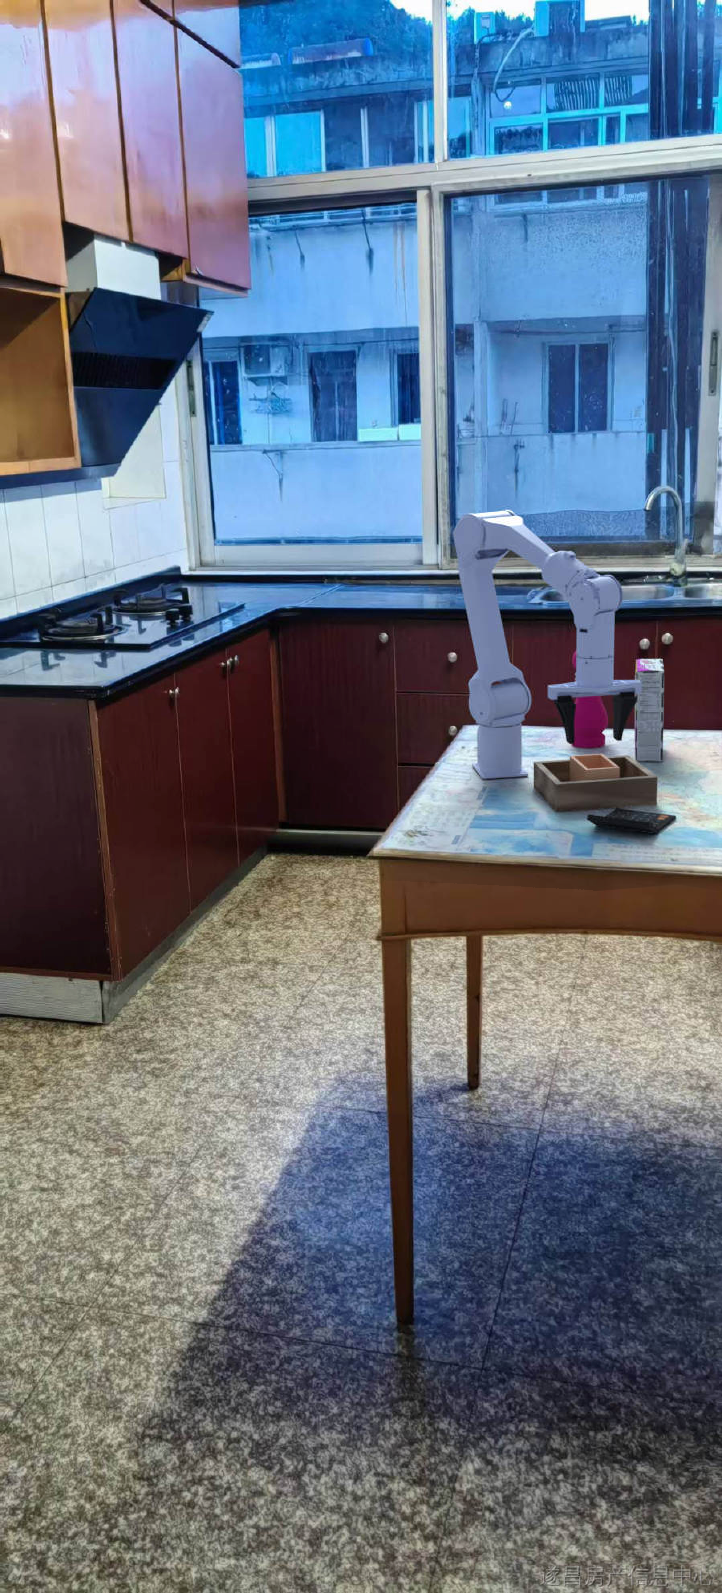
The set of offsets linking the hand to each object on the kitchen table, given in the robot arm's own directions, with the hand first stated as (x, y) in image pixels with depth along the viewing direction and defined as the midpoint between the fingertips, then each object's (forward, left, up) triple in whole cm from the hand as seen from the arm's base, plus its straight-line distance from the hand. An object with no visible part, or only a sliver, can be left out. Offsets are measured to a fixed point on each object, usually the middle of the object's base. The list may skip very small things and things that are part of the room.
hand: (593, 740), depth 199 cm
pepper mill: (-33, +9, -9) cm, 35 cm away
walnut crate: (0, 0, -9) cm, 9 cm away
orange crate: (0, 0, -8) cm, 8 cm away
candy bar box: (-23, +17, -9) cm, 30 cm away
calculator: (+16, +1, -10) cm, 19 cm away
